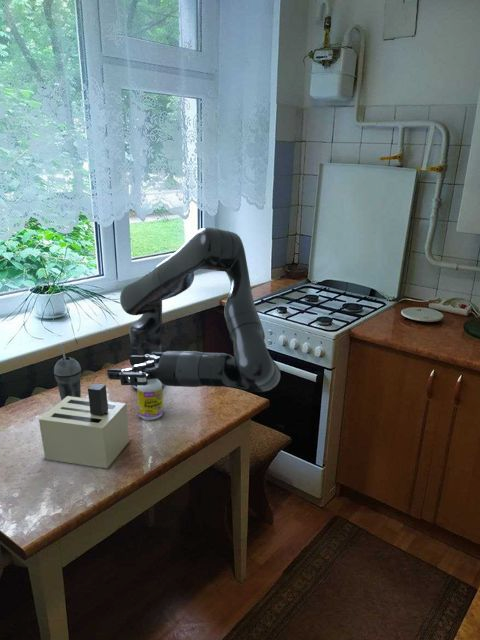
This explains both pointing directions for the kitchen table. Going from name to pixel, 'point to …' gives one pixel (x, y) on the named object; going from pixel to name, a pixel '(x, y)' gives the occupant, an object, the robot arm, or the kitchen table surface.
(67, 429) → the toaster
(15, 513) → the kitchen table surface
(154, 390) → the supplement bottle
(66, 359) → the beverage cup
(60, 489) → the kitchen table surface
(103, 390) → the slider
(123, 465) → the kitchen table surface
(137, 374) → the robot arm
